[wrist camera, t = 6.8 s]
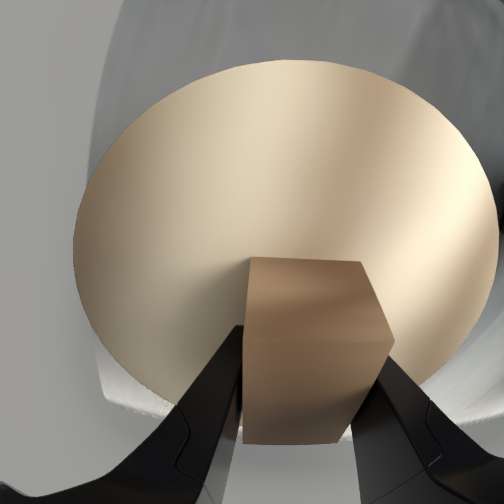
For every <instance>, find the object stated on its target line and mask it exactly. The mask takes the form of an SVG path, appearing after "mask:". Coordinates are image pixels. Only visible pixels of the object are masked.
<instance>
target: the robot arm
mask: <svg viewBox="0 0 504 504" xmlns="http://www.w3.org/2000/svg"><path fill="white" fill-rule="evenodd" d="M500 231H501V232H502V233H503V234H504V215H503V218H502V222H501V225H500ZM243 333H244V325H235V326H234V327H233V329H232V330H231V331H230V333H229V334H228V336H227V337H226V338H225V340H224V341H223V342H222V344H221V345H220V346H219V348H218V349H217V351H216V352H215V353H214V355H213V356H212V357H211V359H210V360H209V361H208V363H207V364H206V365H205V367H204V368H203V369H202V371H201V372H200V373H199V375H198V376H197V377H196V379H195V380H194V381H193V383H192V384H191V385H190V387H189V388H188V389H187V391H186V392H185V393H184V395H183V396H182V397H181V399H180V400H179V401H178V402H177V405H175V406H174V407H173V409H172V410H171V411H170V413H169V414H168V415H167V416H166V418H165V419H164V420H163V421H162V422H161V424H160V425H159V426H158V427H157V428H156V429H155V430H154V431H153V432H152V433H151V434H150V436H149V437H147V438H146V439H145V440H144V441H143V442H142V443H141V444H140V445H139V446H138V447H137V448H136V449H135V450H134V451H133V452H132V453H131V454H129V455H128V456H127V457H126V458H125V459H124V460H123V461H122V462H121V463H120V464H119V465H118V466H116V467H115V468H114V469H113V470H111V471H110V472H109V473H107V474H106V475H104V476H102V477H100V478H98V479H96V480H93V481H90V482H87V483H84V484H82V485H78V486H76V487H73V488H69V489H66V490H63V491H60V492H56V493H53V494H49V495H45V496H40V497H30V496H28V495H26V494H24V493H22V492H21V491H19V490H17V489H15V488H14V487H12V486H10V485H8V484H7V483H5V482H3V481H0V504H222V499H223V495H224V491H225V486H226V482H227V478H228V473H229V469H230V464H231V460H232V456H233V451H234V446H235V442H236V437H237V433H238V428H239V424H240V419H241V414H242V409H243ZM350 425H351V431H352V437H353V444H354V451H355V458H356V465H357V472H358V480H359V489H360V498H361V504H504V458H501V457H497V456H494V455H492V454H490V453H488V452H487V451H485V450H484V449H483V448H481V447H480V446H479V445H478V444H477V443H476V442H474V441H473V440H472V439H471V438H470V437H469V436H468V435H467V434H466V433H464V432H463V431H462V430H461V429H460V428H459V427H458V426H457V425H456V424H454V423H453V422H452V421H451V420H450V419H449V418H448V417H447V416H446V415H445V414H444V413H443V412H442V411H441V410H440V409H439V408H438V407H437V405H436V404H435V403H434V402H433V401H432V400H430V398H429V397H428V396H427V395H426V394H425V393H424V392H423V390H422V389H421V388H420V387H419V386H418V385H417V384H416V383H415V382H414V381H413V380H412V379H411V378H410V377H409V376H408V374H407V373H406V372H405V371H404V370H403V369H402V368H401V367H400V366H399V365H398V364H397V363H396V362H395V361H394V360H393V359H392V358H391V357H390V356H389V355H388V357H387V359H386V361H385V363H384V365H383V367H382V369H381V371H380V372H379V374H378V376H377V378H376V380H375V382H374V384H373V385H372V387H371V389H370V391H369V393H368V394H367V396H366V398H365V399H364V401H363V403H362V405H361V406H360V408H359V410H358V411H357V413H356V415H355V416H354V418H353V419H352V421H351V423H350Z"/></svg>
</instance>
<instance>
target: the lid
mask: <svg viewBox="0 0 504 504" xmlns="http://www.w3.org/2000/svg"><path fill="white" fill-rule="evenodd" d="M498 248H499V228H498V219H497V211H496V206H495V202H494V198H493V195H492V191H491V188H490V184H489V182H488V179H487V177H486V175H485V173H484V170H483V168H482V166H481V164H480V162H479V160H478V158H477V156H476V155H475V153H474V152H473V150H472V149H471V147H470V146H469V145H468V143H467V142H466V140H465V139H464V138H463V136H462V135H461V133H460V132H459V131H458V130H457V129H456V128H455V127H454V126H453V125H452V124H451V123H450V122H449V121H448V120H447V119H446V118H445V117H444V116H443V115H442V114H441V113H440V112H439V111H438V110H437V109H436V108H435V107H433V106H432V105H431V104H429V103H428V102H426V101H425V100H423V99H422V98H420V97H419V96H417V95H416V94H414V93H413V92H411V91H410V90H408V89H407V88H405V87H403V86H401V85H399V84H397V83H395V82H392V81H390V80H388V79H386V78H383V77H381V76H378V75H376V74H374V73H371V72H369V71H365V70H361V69H357V68H353V67H349V66H344V65H340V64H335V63H330V62H324V61H304V60H277V61H269V62H262V63H256V64H249V65H243V66H238V67H234V68H231V69H228V70H225V71H222V72H219V73H216V74H213V75H210V76H207V77H204V78H202V79H199V80H196V81H194V82H192V83H190V84H188V85H186V86H184V87H183V88H181V89H179V90H177V91H175V92H174V93H172V94H170V95H168V96H167V97H165V98H163V99H162V100H160V101H158V102H157V103H156V104H154V105H153V106H152V107H151V108H149V109H148V110H147V111H146V112H144V113H143V114H142V115H141V116H140V117H138V118H137V119H136V120H135V121H134V122H133V123H131V124H130V125H129V126H128V127H127V128H126V129H125V130H124V131H123V133H122V134H121V135H120V136H119V137H118V138H117V140H116V141H115V142H114V143H113V144H112V146H111V147H110V148H109V149H108V151H107V152H106V153H105V154H104V156H103V158H102V159H101V161H100V163H99V164H98V166H97V168H96V170H95V171H94V173H93V175H92V177H91V179H90V180H89V182H88V185H87V187H86V190H85V193H84V195H83V198H82V201H81V204H80V207H79V210H78V214H77V220H76V225H75V231H74V238H73V264H74V271H75V278H76V284H77V288H78V292H79V295H80V299H81V302H82V305H83V308H84V310H85V313H86V315H87V317H88V319H89V321H90V323H91V325H92V328H93V329H94V331H95V332H96V334H97V336H98V337H99V339H100V340H101V342H102V343H103V345H104V346H105V348H106V349H107V350H108V351H109V353H110V354H111V355H112V356H113V357H114V359H115V360H116V361H117V362H118V363H119V364H120V365H121V366H122V367H123V368H124V369H125V370H126V371H127V372H128V373H129V374H130V375H131V376H132V377H134V378H135V379H136V380H137V381H139V382H140V383H141V384H142V385H144V386H145V387H146V388H148V389H149V390H151V391H152V392H154V393H155V394H157V395H158V396H160V397H162V398H163V399H165V400H167V401H169V402H171V403H173V404H174V405H177V402H178V401H179V400H180V399H181V397H182V396H183V395H184V393H185V392H186V391H187V389H188V388H189V387H190V385H191V384H192V383H193V381H194V380H195V379H196V377H197V376H198V375H199V373H200V372H201V371H202V369H203V368H204V367H205V365H206V364H207V363H208V361H209V360H210V359H211V357H212V356H213V355H214V353H215V352H216V351H217V349H218V348H219V346H220V345H221V344H222V342H223V341H224V340H225V338H226V337H227V336H228V334H229V333H230V331H231V330H232V329H233V327H234V326H235V325H244V333H243V409H242V414H241V419H240V424H239V426H243V444H257V445H258V444H259V445H308V444H309V445H310V444H311V445H312V444H330V443H337V442H338V441H339V439H340V438H341V436H342V435H343V433H344V432H345V430H346V429H347V427H348V426H349V424H350V423H351V421H352V419H353V418H354V416H355V415H356V413H357V411H358V410H359V408H360V406H361V405H362V403H363V401H364V399H365V398H366V396H367V394H368V393H369V391H370V389H371V387H372V385H373V384H374V382H375V380H376V378H377V376H378V374H379V372H380V371H381V369H382V367H383V365H384V363H385V361H386V359H387V357H388V355H389V356H390V357H391V358H392V359H393V360H394V361H395V362H396V363H397V364H398V365H399V366H400V367H401V368H402V369H403V370H404V371H405V372H406V373H407V374H408V376H409V377H410V378H411V379H412V380H413V381H414V382H415V383H416V384H417V385H418V386H419V385H421V384H422V383H424V382H425V381H426V380H427V379H429V378H430V377H431V376H432V375H433V374H434V373H436V372H437V371H438V370H439V369H440V368H441V367H442V366H443V365H444V364H445V363H446V362H447V361H448V360H449V359H450V358H451V357H452V356H453V355H454V354H455V352H456V351H457V350H458V349H459V347H460V346H461V345H462V344H463V342H464V341H465V340H466V338H467V337H468V335H469V334H470V332H471V331H472V329H473V327H474V326H475V324H476V323H477V321H478V319H479V317H480V315H481V313H482V311H483V309H484V306H485V304H486V302H487V299H488V297H489V294H490V291H491V287H492V284H493V281H494V277H495V272H496V266H497V260H498Z"/></svg>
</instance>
